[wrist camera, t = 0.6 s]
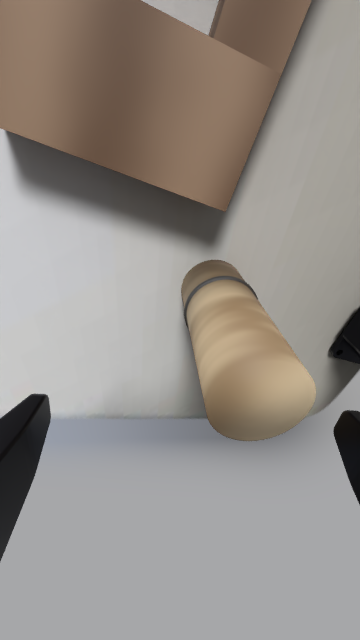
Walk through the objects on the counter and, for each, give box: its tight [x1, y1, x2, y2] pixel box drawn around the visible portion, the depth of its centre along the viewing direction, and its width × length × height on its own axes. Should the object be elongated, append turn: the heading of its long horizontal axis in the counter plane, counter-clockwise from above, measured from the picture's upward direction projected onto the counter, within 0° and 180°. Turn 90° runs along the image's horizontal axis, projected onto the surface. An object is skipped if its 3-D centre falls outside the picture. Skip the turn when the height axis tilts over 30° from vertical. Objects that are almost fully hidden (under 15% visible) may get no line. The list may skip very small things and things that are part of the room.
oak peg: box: [181, 260, 316, 441], centre depth 15 cm, size 4×4×10 cm
